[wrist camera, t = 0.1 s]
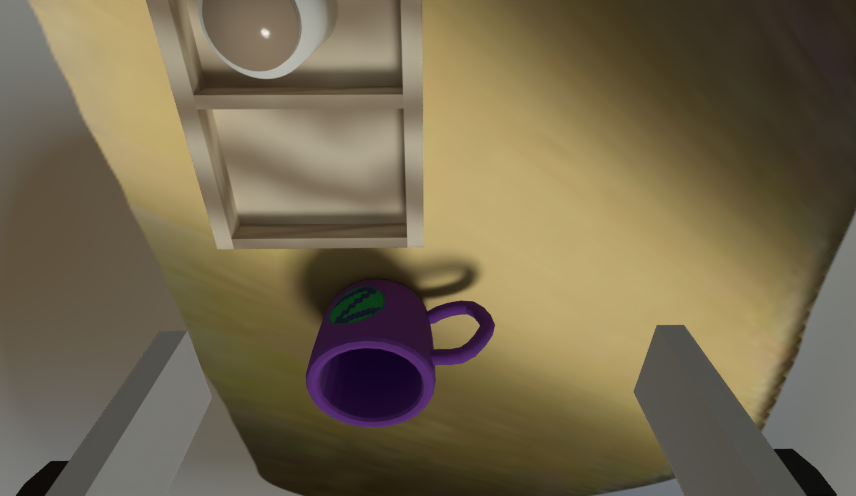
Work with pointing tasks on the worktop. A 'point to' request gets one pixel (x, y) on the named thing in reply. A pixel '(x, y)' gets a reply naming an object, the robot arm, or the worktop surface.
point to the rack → (306, 132)
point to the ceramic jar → (266, 32)
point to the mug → (383, 353)
